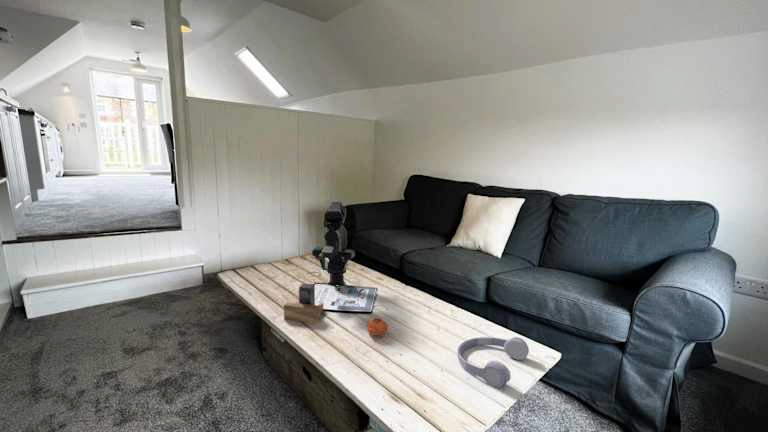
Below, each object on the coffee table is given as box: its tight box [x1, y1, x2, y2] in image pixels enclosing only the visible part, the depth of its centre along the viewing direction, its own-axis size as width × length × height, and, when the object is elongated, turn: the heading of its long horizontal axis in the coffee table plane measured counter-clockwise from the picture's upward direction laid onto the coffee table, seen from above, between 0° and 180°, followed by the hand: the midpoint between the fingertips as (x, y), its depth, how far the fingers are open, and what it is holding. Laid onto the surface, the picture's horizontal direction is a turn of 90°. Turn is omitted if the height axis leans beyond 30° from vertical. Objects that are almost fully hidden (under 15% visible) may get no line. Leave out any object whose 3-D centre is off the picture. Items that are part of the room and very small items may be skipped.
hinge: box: [317, 258, 329, 270], centre depth 199 cm, size 17×5×10 cm, turn 37°
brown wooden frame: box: [283, 301, 324, 324], centre depth 141 cm, size 11×14×6 cm
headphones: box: [457, 336, 530, 389], centre depth 112 cm, size 22×7×20 cm
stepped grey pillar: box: [298, 283, 316, 305], centre depth 141 cm, size 5×5×12 cm
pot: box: [366, 317, 389, 339], centre depth 127 cm, size 8×8×7 cm
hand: (333, 270), depth 157 cm, fingers open, 9 cm apart
